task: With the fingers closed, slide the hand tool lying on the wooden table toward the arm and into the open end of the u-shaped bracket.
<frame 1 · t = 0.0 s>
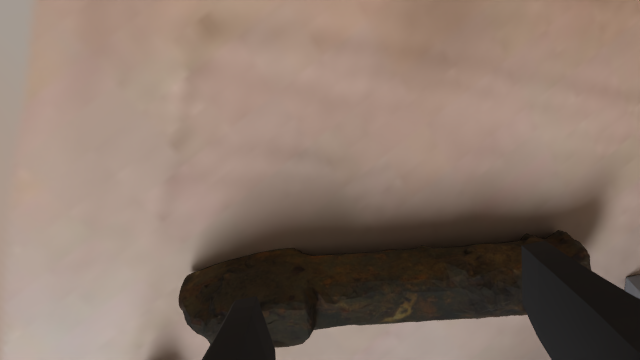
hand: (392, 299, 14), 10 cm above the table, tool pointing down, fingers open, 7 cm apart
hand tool: (374, 266, 26), on the table
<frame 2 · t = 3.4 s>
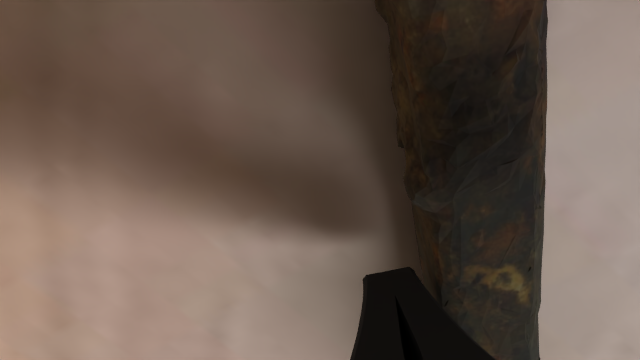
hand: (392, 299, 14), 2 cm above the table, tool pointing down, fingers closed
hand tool: (469, 220, 16), on the table, touching gripper
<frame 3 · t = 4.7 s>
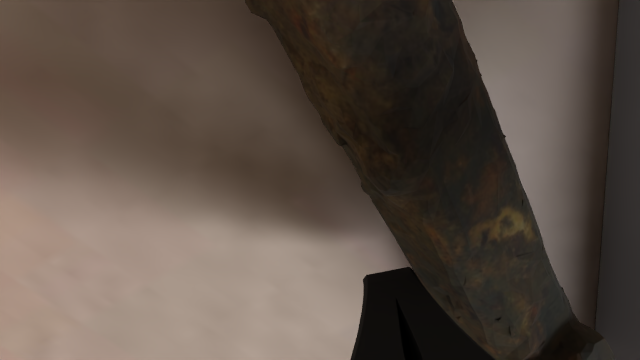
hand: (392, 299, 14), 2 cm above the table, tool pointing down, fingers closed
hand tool: (423, 197, 15), on the table, touching gripper
u-shaped bracket: (474, 229, 16), on the table
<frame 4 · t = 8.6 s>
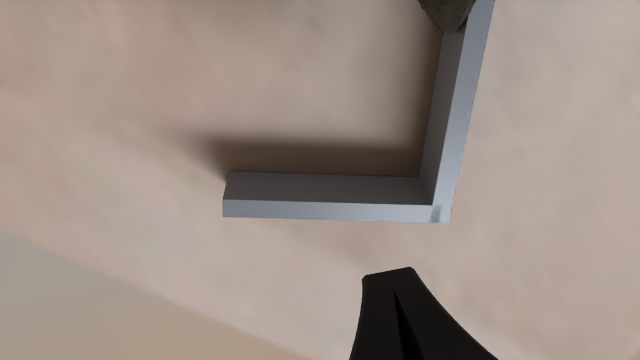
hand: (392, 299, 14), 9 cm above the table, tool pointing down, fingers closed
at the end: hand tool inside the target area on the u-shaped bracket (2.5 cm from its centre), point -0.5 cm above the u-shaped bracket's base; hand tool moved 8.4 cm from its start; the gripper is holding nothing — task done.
